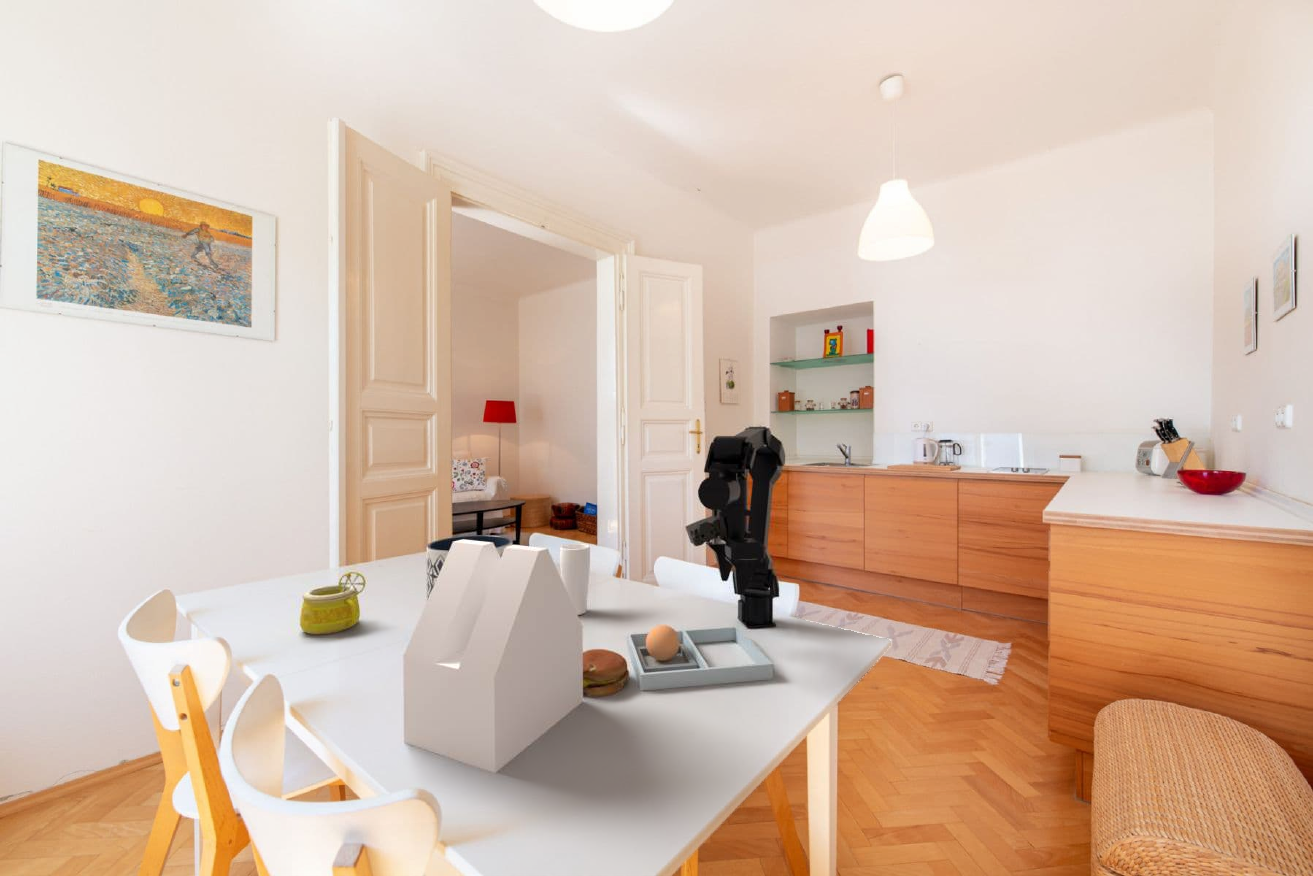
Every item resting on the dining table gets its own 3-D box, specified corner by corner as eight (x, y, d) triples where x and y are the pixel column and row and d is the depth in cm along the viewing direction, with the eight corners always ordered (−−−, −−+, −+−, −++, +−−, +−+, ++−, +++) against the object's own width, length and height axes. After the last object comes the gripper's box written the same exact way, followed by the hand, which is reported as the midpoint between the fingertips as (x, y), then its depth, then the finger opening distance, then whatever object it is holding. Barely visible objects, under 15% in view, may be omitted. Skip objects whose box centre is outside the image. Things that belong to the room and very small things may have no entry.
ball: (677, 660, 99) (674, 626, 101) (684, 658, 93) (680, 621, 96) (645, 663, 98) (642, 628, 100) (649, 660, 92) (647, 624, 95)
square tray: (684, 651, 101) (684, 643, 101) (697, 673, 92) (697, 665, 92) (633, 655, 99) (633, 647, 99) (641, 678, 90) (641, 669, 90)
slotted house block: (494, 774, 65) (493, 565, 65) (403, 743, 71) (402, 553, 71) (582, 701, 82) (582, 537, 82) (503, 682, 89) (502, 530, 89)
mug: (286, 633, 111) (286, 575, 111) (336, 616, 121) (335, 563, 121) (330, 642, 106) (330, 581, 106) (378, 624, 116) (378, 568, 116)
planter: (529, 611, 124) (529, 540, 124) (463, 637, 109) (463, 555, 109) (477, 599, 134) (476, 532, 134) (409, 620, 118) (408, 545, 118)
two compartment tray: (737, 638, 107) (737, 626, 107) (772, 679, 90) (772, 664, 90) (626, 646, 103) (626, 633, 103) (640, 690, 86) (640, 674, 86)
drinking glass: (593, 608, 126) (592, 543, 126) (586, 617, 120) (586, 550, 120) (564, 607, 127) (564, 543, 127) (556, 617, 120) (556, 549, 120)
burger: (624, 669, 94) (623, 642, 94) (632, 694, 85) (632, 665, 85) (566, 674, 92) (566, 647, 92) (568, 701, 83) (568, 671, 83)
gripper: (678, 498, 108) (678, 576, 108) (703, 511, 90) (703, 605, 90) (732, 497, 110) (732, 574, 110) (766, 509, 92) (766, 601, 92)
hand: (732, 587), depth 101 cm, fingers open, 9 cm apart
